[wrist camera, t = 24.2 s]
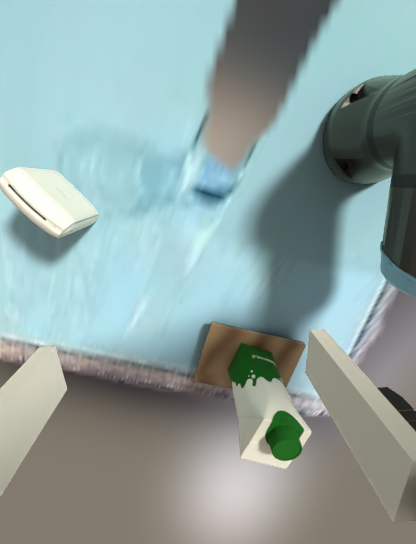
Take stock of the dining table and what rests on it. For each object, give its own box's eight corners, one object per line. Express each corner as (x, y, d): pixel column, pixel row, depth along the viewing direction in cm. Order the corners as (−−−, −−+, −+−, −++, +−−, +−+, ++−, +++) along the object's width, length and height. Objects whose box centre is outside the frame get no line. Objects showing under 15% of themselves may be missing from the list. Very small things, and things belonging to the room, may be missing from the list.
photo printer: (104, 214, 44) (71, 225, 32) (87, 230, 45) (50, 247, 33) (56, 166, 41) (2, 158, 30) (39, 183, 42) (-20, 183, 30)
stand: (299, 336, 54) (305, 345, 52) (277, 387, 59) (281, 397, 56) (210, 317, 52) (211, 324, 49) (193, 371, 56) (193, 381, 53)
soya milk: (277, 349, 52) (325, 445, 33) (258, 383, 54) (292, 489, 35) (238, 337, 50) (265, 429, 31) (221, 372, 53) (235, 477, 34)
